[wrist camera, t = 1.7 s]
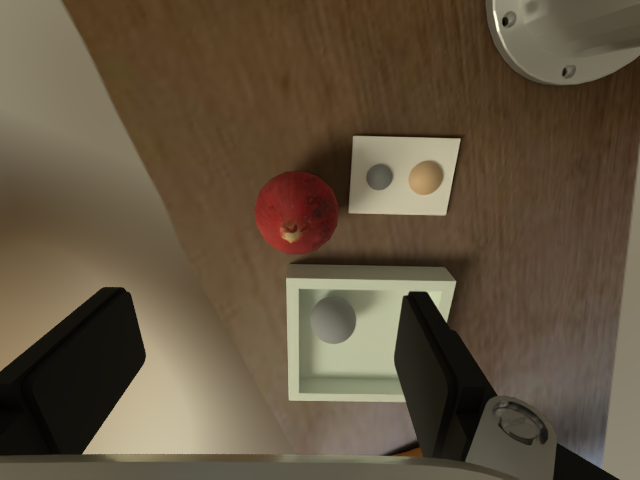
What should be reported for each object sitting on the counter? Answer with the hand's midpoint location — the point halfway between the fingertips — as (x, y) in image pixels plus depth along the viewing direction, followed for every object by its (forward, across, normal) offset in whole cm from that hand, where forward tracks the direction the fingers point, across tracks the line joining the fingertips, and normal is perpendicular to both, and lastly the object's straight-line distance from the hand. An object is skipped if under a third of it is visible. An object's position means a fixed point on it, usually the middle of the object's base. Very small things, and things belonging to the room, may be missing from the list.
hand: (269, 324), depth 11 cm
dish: (+16, -6, +13) cm, 21 cm away
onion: (+16, 0, 0) cm, 16 cm away
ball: (+15, -3, +10) cm, 18 cm away
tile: (+16, -8, -2) cm, 18 cm away
